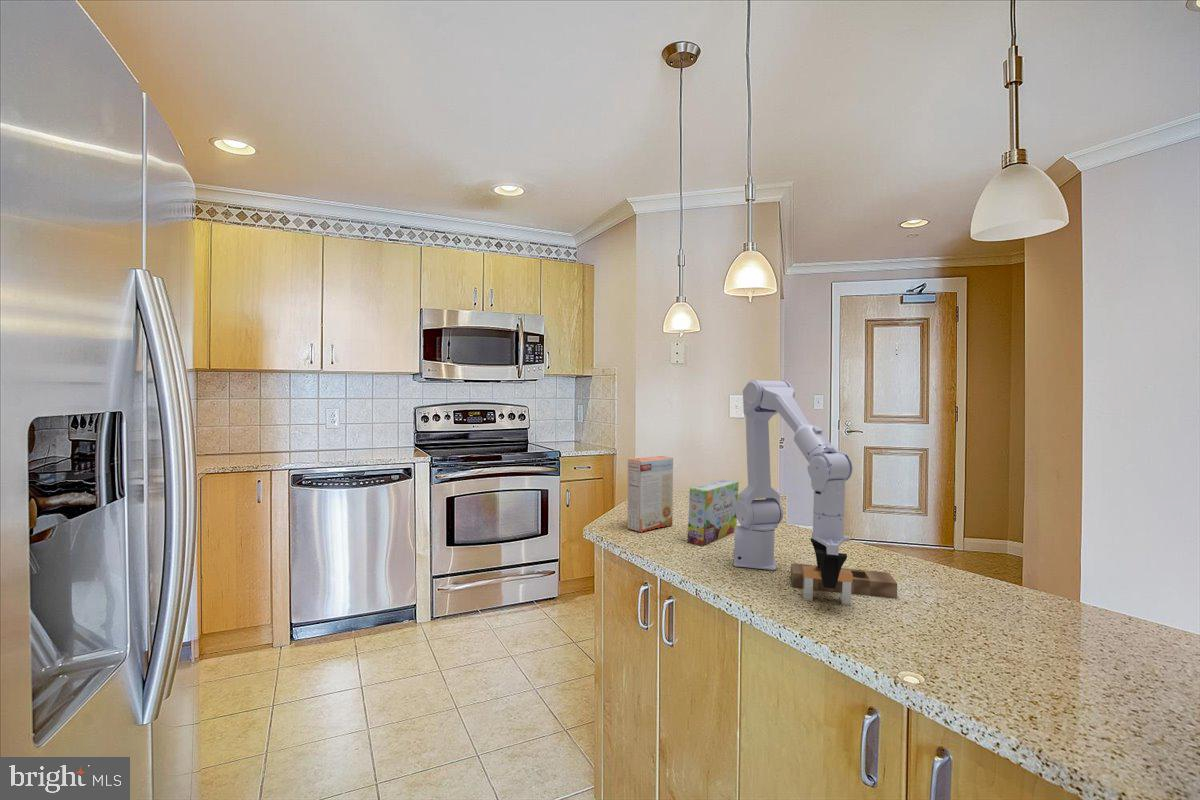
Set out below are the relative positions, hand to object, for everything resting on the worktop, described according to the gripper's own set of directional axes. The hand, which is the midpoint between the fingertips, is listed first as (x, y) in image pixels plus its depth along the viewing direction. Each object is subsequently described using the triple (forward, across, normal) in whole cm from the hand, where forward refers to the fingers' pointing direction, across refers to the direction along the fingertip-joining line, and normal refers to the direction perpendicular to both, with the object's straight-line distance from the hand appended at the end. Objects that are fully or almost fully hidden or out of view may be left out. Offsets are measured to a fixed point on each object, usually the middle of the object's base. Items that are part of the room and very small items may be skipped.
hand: (826, 581), depth 111 cm
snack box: (+4, +41, +25) cm, 48 cm away
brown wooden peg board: (+4, +9, -4) cm, 11 cm away
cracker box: (+4, +45, +44) cm, 63 cm away
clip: (+4, 0, 0) cm, 4 cm away
